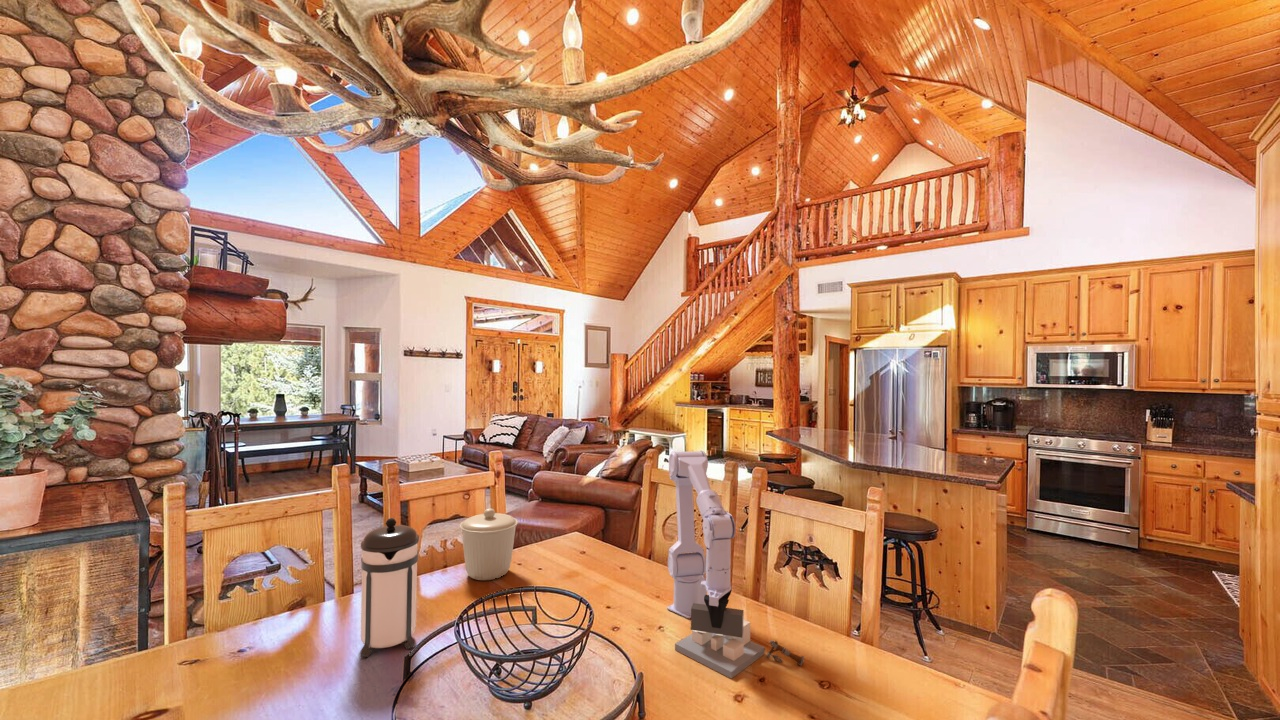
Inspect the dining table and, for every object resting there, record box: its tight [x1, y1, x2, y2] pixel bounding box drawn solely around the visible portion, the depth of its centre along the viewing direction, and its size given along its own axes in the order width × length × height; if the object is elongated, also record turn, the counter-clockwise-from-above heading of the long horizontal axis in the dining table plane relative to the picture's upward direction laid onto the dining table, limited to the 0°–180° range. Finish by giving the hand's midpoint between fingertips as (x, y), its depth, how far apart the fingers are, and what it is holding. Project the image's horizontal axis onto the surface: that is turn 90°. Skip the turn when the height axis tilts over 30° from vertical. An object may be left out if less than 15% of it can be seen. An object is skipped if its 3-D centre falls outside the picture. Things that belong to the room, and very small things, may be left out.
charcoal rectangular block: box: [690, 603, 745, 638], centre depth 122 cm, size 3×12×5 cm, turn 74°
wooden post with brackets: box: [765, 640, 805, 667], centre depth 119 cm, size 2×8×4 cm, turn 75°
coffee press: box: [360, 517, 420, 659], centre depth 126 cm, size 17×16×30 cm
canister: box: [459, 507, 519, 581], centre depth 166 cm, size 18×18×21 cm
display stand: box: [674, 618, 766, 679], centre depth 123 cm, size 14×16×6 cm
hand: (717, 623), depth 122 cm, fingers closed on charcoal rectangular block, 3 cm apart
